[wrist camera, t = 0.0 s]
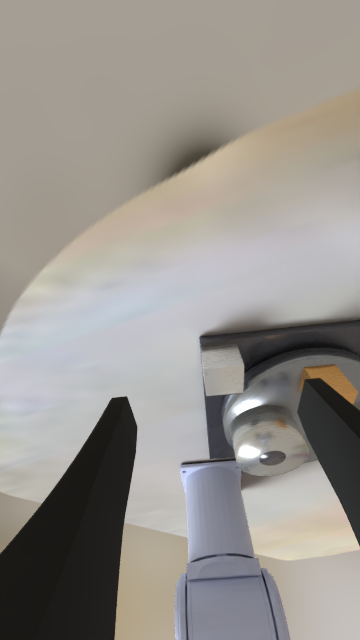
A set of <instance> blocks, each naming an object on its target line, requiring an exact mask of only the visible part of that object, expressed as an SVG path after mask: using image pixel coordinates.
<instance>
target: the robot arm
mask: <svg viewBox="0 0 360 640" xmlns="http://www.w3.org/2000/svg"><path fill="white" fill-rule="evenodd" d="M297 413H298V416H299V419H300V421H301V424H302V427H303V429H304V432H305V434H306V437H307V439H308V441H309V443H310V445H311V447H312V449H313V451H314V452H315V454H316V456H317V458H318V460H319V462H320V464H321V466H322V468H323V470H324V472H325V474H326V475H327V477H328V479H329V481H330V483H331V485H332V487H333V489H334V491H335V493H336V495H337V496H338V498H339V500H340V502H341V504H342V507H343V509H344V511H345V513H346V515H347V517H348V520H349V522H350V524H351V527H352V529H353V531H354V534H355V536H356V538H357V541H358V543H359V546H360V410H359V409H357V408H356V407H355V406H354V405H352V404H351V403H350V402H349V401H348V400H346V399H345V398H344V397H343V396H342V395H340V394H339V393H338V392H337V391H336V390H334V389H333V388H332V387H331V386H330V385H328V384H327V383H326V382H325V381H323V380H322V379H321V378H314V379H305V380H304V385H303V389H302V393H301V398H300V402H299V406H298V411H297ZM136 441H137V424H136V421H135V418H134V415H133V413H132V410H131V407H130V404H129V401H128V398H127V397H117V398H112V399H111V400H110V402H109V404H108V406H107V407H106V409H105V411H104V413H103V414H102V416H101V418H100V419H99V421H98V423H97V424H96V426H95V428H94V429H93V431H92V433H91V434H90V436H89V437H88V439H87V441H86V442H85V444H84V445H83V447H82V448H81V450H80V452H79V453H78V455H77V456H76V458H75V459H74V460H73V462H72V463H71V465H70V466H69V468H68V469H67V471H66V472H65V473H64V475H63V476H62V478H61V479H60V481H59V482H58V483H57V485H56V486H55V487H54V489H53V490H52V491H51V493H50V494H49V495H48V497H47V498H46V499H45V501H44V502H43V503H42V504H41V506H40V507H39V508H38V510H37V511H36V512H35V513H34V515H33V516H32V517H31V518H30V519H29V521H28V522H27V523H26V524H25V525H24V527H23V528H22V529H21V530H20V531H19V533H18V534H17V535H16V536H15V537H14V539H13V540H12V541H11V542H10V543H9V545H7V547H6V548H5V549H4V550H3V551H2V552H1V554H0V640H114V637H115V622H116V607H117V591H118V580H119V567H120V556H121V545H122V534H123V526H124V519H125V512H126V507H127V501H128V495H129V489H130V484H131V478H132V472H133V466H134V460H135V454H136ZM241 471H242V470H241V469H240V468H239V467H238V465H237V461H236V460H235V461H223V462H211V463H199V464H188V465H181V466H180V473H181V478H182V482H183V487H184V491H185V496H186V507H187V532H188V556H189V563H187V573H182V574H181V576H180V578H179V580H178V581H177V584H176V592H175V640H290V636H289V631H288V626H287V622H286V617H285V613H284V609H283V605H282V601H281V598H280V594H279V591H278V588H277V585H276V582H275V580H274V578H273V576H272V575H271V574H270V573H269V572H268V570H267V569H266V568H260V564H259V559H258V558H255V555H254V550H253V546H252V541H251V536H250V531H249V527H248V522H247V517H246V513H245V508H244V503H243V498H242V494H241Z"/></svg>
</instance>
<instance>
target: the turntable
mask: <svg viewBox="0 0 360 640" xmlns="http://www.w3.org/2000/svg"><path fill="white" fill-rule="evenodd" d="M314 378H321V379H322V380H323V381H325V382H326V383H327V384H328V385H330V386H331V387H332V388H333V389H334V390H336V391H337V392H338V393H339V394H340V395H342V396H343V397H344V398H345V399H346V400H348V401H349V402H350V403H351V404H352V405H354V406H355V407H356V408H357V409H359V410H360V356H357V355H355V354H353V353H351V352H348V351H345V350H341V349H335V348H324V347H318V348H305V349H299V350H294V351H290V352H286V353H283V354H280V355H277V356H274V357H272V358H270V359H267V360H265V361H263V362H261V363H259V364H258V365H256V366H254V367H253V368H251V369H250V370H248V371H247V372H246V373H244V386H243V393H239V394H234V395H226V396H225V398H224V400H223V404H222V409H221V415H222V421H223V426H224V432H225V436H226V439H227V441H228V443H229V444H230V446H231V447H232V448H233V443H232V438H231V434H230V425H231V422H232V421H233V419H234V418H235V417H236V416H237V415H239V414H240V413H242V412H243V411H245V410H247V409H250V408H253V407H257V406H263V405H274V406H280V407H283V408H285V409H287V410H288V411H290V412H291V414H292V415H293V417H294V419H295V421H296V423H297V425H298V427H299V430H300V432H301V434H302V436H303V438H304V440H305V442H306V444H307V446H308V448H309V455H308V458H307V459H306V461H305V462H310V461H315V460H318V458H317V456H316V454H315V452H314V451H313V449H312V447H311V445H310V443H309V441H308V439H307V437H306V434H305V432H304V429H303V427H302V424H301V421H300V419H299V416H298V413H297V411H298V406H299V402H300V398H301V393H302V389H303V385H304V380H305V379H314ZM233 449H234V448H233ZM305 462H304V463H305Z"/></svg>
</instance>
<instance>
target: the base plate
mask: <svg viewBox="0 0 360 640" xmlns="http://www.w3.org/2000/svg"><path fill="white" fill-rule="evenodd" d="M199 338H200V349H201V361H202V373H203V385H204V397H205V409H206V420H207V432H208V444H209V455H210V459H214V458H225V457H235V452H234V449H233V448H232V447H231V446H230V444H229V443H228V441H227V439H226V436H225V432H224V426H223V421H222V415H221V409H222V404H223V400H224V398H225V396H226V395H234V394H239V393H243V386H244V373H246V372H247V371H248V370H250V369H251V368H253V367H254V366H256V365H258V364H259V363H261V362H263V361H265V360H267V359H270V358H272V357H274V356H277V355H280V354H283V353H286V352H290V351H294V350H299V349H305V348H318V347H324V348H335V349H341V350H345V351H348V352H351V353H353V354H355V355H357V356H360V320H357V321H348V322H338V323H328V324H319V325H309V326H300V327H290V328H281V329H271V330H262V331H252V332H243V333H233V334H224V335H214V336H204V337H199Z"/></svg>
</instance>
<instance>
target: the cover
mask: <svg viewBox="0 0 360 640" xmlns="http://www.w3.org/2000/svg"><path fill="white" fill-rule="evenodd" d="M230 434H231V438H232V443H233V448H234V452H235V457H236V461H237V465H238V467H239V468H240V469H241V470H242V471H243V472H245V473H248V474H251V475H256V476H273V475H279V474H283V473H286V472H289V471H291V470H293V469H295V468H297V467H299V466H300V465H301V464H303V463H304V462H305V461H306V459H307V458H308V455H309V448H308V446H307V444H306V442H305V440H304V438H303V436H302V434H301V432H300V430H299V427H298V425H297V423H296V421H295V419H294V417H293V415H292V414H291V412H290V411H288V410H287V409H285V408H283V407H280V406H274V405H263V406H257V407H253V408H250V409H247V410H245V411H243V412H242V413H240V414H239V415H237V416H236V417H235V418H234V419H233V421H232V422H231V425H230Z"/></svg>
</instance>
